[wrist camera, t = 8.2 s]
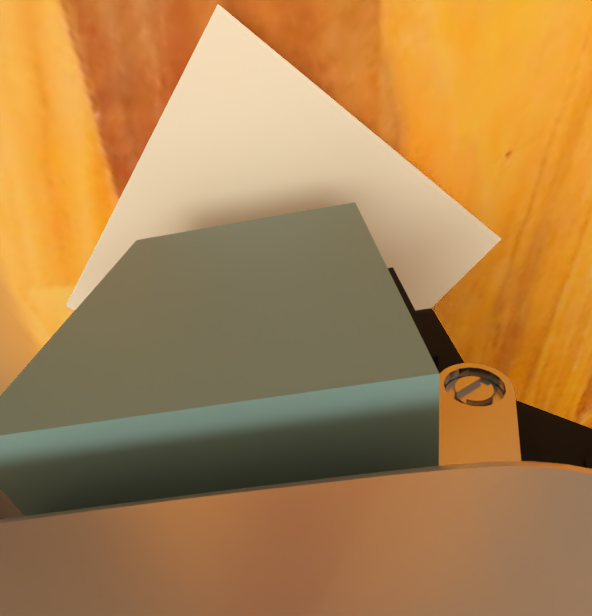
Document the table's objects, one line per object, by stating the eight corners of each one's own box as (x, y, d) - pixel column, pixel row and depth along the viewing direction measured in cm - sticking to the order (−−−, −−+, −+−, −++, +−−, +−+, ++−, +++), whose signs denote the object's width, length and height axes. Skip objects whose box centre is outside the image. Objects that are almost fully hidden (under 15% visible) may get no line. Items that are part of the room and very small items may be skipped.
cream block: (462, 207, 19) (501, 238, 15) (305, 377, 23) (307, 430, 20) (235, 19, 15) (217, 3, 12) (105, 265, 20) (65, 306, 16)
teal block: (355, 202, 11) (439, 373, 5) (372, 376, 14) (437, 616, 8) (136, 239, 11) (-39, 441, 5) (199, 401, 14) (134, 646, 8)
